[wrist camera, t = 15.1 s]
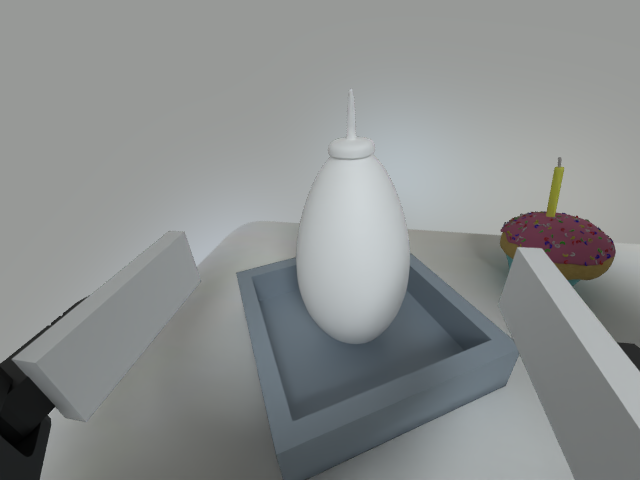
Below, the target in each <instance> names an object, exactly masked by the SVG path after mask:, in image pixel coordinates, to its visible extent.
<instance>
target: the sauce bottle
mask: <svg viewBox="0 0 640 480" xmlns="http://www.w3.org/2000/svg"><path fill="white" fill-rule="evenodd" d="M374 152H375V145H374V142H373V141H372V140H371V139H368V138H365V137H356V124H355V103H354V95H353V91H352V89H350V90H349V95H348V108H347V137H343V138H338V139H336V140H334V141H332V142H331V143H330V145H329V148H328V153H329V155H330V157H329V159H328V160H327V161H326V162H325V164H324V165H323V166H322V168H321V170H320V171H319V173H318V175H317V176H316V178H315V180H314V182H313V185H312V187H311V190H310V192H309V195H308V197H307V201H306V203H305V206H304V210H303V213H302V217H301V221H300V226H299V231H298V237H297V248H296V265H297V278H298V284H299V289H300V293H301V296H302V299H303V301H304V304H305V306H306V308H307V310H308V312H309V314H310V316H311V317H312V319H313V320H314V321H315V322H316V323H317V325H318V326H319V327H320V328H321V329H322V330H323V331H324V332H325V333H327V334H328V335H329V336H330V337H332V338H334V339H336V340H338V341H341V342H344V343H349V344H363V343H367V342H370V341H372V340H373V339H375V338H377V337H378V336H379V335H380V334H381V333H382V332H384V331H385V330H386V329H387V328H388V326H389V325H390V324H391V322H392V321H393V320H394V318H395V317H396V315H397V313H398V311H399V309H400V307H401V304H402V302H403V299H404V297H405V293H406V289H407V285H408V278H409V269H410V245H409V236H408V230H407V225H406V221H405V217H404V213H403V209H402V206H401V203H400V200H399V197H398V194H397V192H396V189H395V187H394V185H393V183H392V180H391V178H390V177H389V175H388V173H387V171H386V170H385V168H384V167H383V165H382V164H381V163H380V161H379V160H378V159H377V158H376V157H375V156H374V155H373V153H374Z"/></svg>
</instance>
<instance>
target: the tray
mask: <svg viewBox="0 0 640 480" xmlns="http://www.w3.org/2000/svg"><path fill="white" fill-rule="evenodd" d="M236 274H237V278H238V283H239V288H240V292H241V297H242V301H243V306H244V310H245V315H246V320H247V324H248V329H249V333H250V338H251V343H252V347H253V352H254V356H255V361H256V365H257V370H258V375H259V379H260V384H261V388H262V393H263V398H264V402H265V407H266V411H267V416H268V420H269V425H270V430H271V434H272V439H273V443H274V448H275V453H276V457H277V460H278V463H279V467H280V470H281V474H282V477H283V480H306V479H308V478H310V477H312V476H315V475H317V474H319V473H321V472H323V471H325V470H327V469H329V468H332V467H334V466H336V465H338V464H340V463H342V462H344V461H346V460H349V459H351V458H353V457H355V456H357V455H359V454H361V453H363V452H366V451H368V450H370V449H372V448H374V447H376V446H378V445H380V444H383V443H385V442H387V441H389V440H391V439H393V438H395V437H397V436H399V435H402V434H404V433H406V432H408V431H410V430H412V429H414V428H416V427H419V426H421V425H423V424H425V423H427V422H429V421H431V420H433V419H436V418H438V417H440V416H442V415H444V414H446V413H448V412H450V411H453V410H455V409H457V408H459V407H461V406H463V405H465V404H467V403H470V402H472V401H474V400H476V399H478V398H480V397H482V396H484V395H487V394H489V393H491V392H493V391H495V390H497V389H499V388H501V387H504V386H506V384H507V381H508V379H509V377H510V374H511V372H512V370H513V367H514V365H515V363H516V360H517V358H518V356H519V352H518V349H517V347H516V345H515V343H514V340H512V339H511V338H510V337H509V336H508V335H507V334H505V333H504V332H503V331H502V330H501V329H499V328H498V327H497V326H496V325H495V324H494V323H492V322H491V321H490V320H489V319H488V318H487V317H485V316H484V315H483V314H482V313H481V312H479V311H478V310H477V309H476V308H475V307H474V306H472V305H471V304H470V303H469V302H468V301H466V300H465V299H464V298H463V297H462V296H461V295H459V294H458V293H457V292H456V291H455V290H454V289H452V288H451V287H450V286H449V285H448V284H446V283H445V282H444V281H443V280H442V279H441V278H439V277H438V276H437V275H436V274H435V273H434V272H432V271H431V270H430V269H429V268H428V267H426V266H425V265H424V264H423V263H422V262H421V261H419V260H418V259H417V258H416V257H415V256H413V255H412V254H411V253H410V269H409V278H408V285H407V289H406V293H405V297H404V299H403V302H402V304H401V307H400V309H399V311H398V313H397V315H396V317H395V318H394V320H393V321H392V322H391V324H390V325H389V326H388V328H387V329H386V330H385V331H384V332H382V333H381V334H380V335H379V336H378V337H377V338H375V339H373V340H372V341H370V342H367V343H363V344H349V343H344V342H341V341H338V340H336V339H334V338H332V337H330V336H329V335H328V334H327V333H325V332H324V331H323V330H322V329H321V328H320V327H319V326H318V325H317V323H316V322H315V321H314V320H313V319H312V317H311V316H310V314H309V312H308V310H307V308H306V306H305V304H304V301H303V299H302V296H301V293H300V289H299V284H298V278H297V265H296V258H292V259H288V260H284V261H280V262H276V263H272V264H269V265H265V266H261V267H257V268H253V269H249V270H245V271H241V272H238V273H236Z"/></svg>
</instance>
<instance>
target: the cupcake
mask: <svg viewBox="0 0 640 480" xmlns="http://www.w3.org/2000/svg"><path fill="white" fill-rule="evenodd" d="M563 172H564V167H561V158H560V157H559V158H558V167H555V170H554V175H553V180H552V186H551V192H550V197H549V202H548V207H547V212H531V213H527V214H524V215H523V214H520V216H518V217H514V218H512V219H511V220H509V222H507V224H506V222H505V223H504V225H505V226H504V227H502V229H501V232H503V233H502V236H501V240H500V246H501V248H502V249H503V250H504V252H505V253H506V255H507V259H508V263H509V271H510V268H511V265H512V262H513V259H514V256H515V253H516V250H517V247H526V248H542V249H543V251H544V252H545V253H546V254H547V256H548V257H549V258H550V259H551V261H552V262H553V263H554V264H555V266H556V267H557V268H558V269H559V271H560V272H561V273H562V274H563V276H564V277H565V278H566V279H567V281H568V282H569V283H570V285H571V286H573V285H574V284H576V283H577V282H578V281H580V280H591V279H594V278H597V277H599V276H601V275H602V274H603V273H605V272H606V271H607V270H608V269H609V267H610V266H611V264H612V262H613V260H614V257H615V246H614V243H613V241H612V239H611V238H608V237H609V236H608V235H605V234H604V232H602V231H601V230H600V229H599V228H597V227H596V226H595V225H593V224H592V223H590V222H589V220H584V219H581V218H578V216H576V217H574V216H570V215H567V214H565V213H562V214H561V213H556V208H557V203H558V197H559V192H560V188H561V182H562V177H563Z"/></svg>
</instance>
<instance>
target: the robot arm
mask: <svg viewBox="0 0 640 480" xmlns="http://www.w3.org/2000/svg"><path fill="white" fill-rule="evenodd" d="M200 282H201V279H200V276H199V273H198V270H197V267H196V264H195V261H194V259H193V256H192V253H191V250H190V247H189V244H188V241H187V238H186V235H185V232H179V231H178V232H177V231H168V232H167V233H166V234H165V235H163V236H162V237H161V238H160V239H158V241H156V242H155V243H154V244H152V245H151V246H150V247H149V248H148V249H146V250H145V251H144V252H143V253H141V254H140V255H139V256H138V257H136V258H135V259H134V260H133V261H131V262H130V263H129V264H128V265H127V266H125V267H124V268H123V269H122V270H120V271H119V272H118V273H117V274H116V275H114V276H113V277H112V278H111V279H110V280H108V281H107V282H106V283H104V284H103V285H102V286H101V287H100V288H98V289H97V290H96V291H95V292H94V293H92V294H91V295H89V296H88V297H86V298H84V299H82V300H80V301H79V302H77V303H75V304H74V305H73V306H72V307H71V308H69V309H68V310H67V311H66V312H64V313H63V315H62V316H59V317H58V318H57V319H56V320H54V321H53V322H52V323H51V325H50V326H47V327H46V328H44V329H43V330H42V331H41V332H40V333H38V334H37V335H36V336H34V337H33V338H32V339H31V340H29V341H28V342H27V343H26V344H24V345H23V346H22V347H21V348H20V349H18V350H17V351H16V352H15V353H13V354H12V355H11V356H10V357H8V358H7V359H6V360H5V361H3V362H2V363H0V480H40V475H41V470H42V466H43V461H44V456H45V451H46V447H47V442H48V437H49V433H50V428H51V418H50V417H49V416H48V414H49V413H50V412H51V411H52V410H53V408H54V407H56V408H57V409H58V410H59V411H60V413H61V414H62V415H63V416H64V417H65V418H68V419H73V420H79V421H84V422H87V421H88V419H89V418H90V417H91V416H92V415H93V413H94V412H95V411H96V410H97V408H98V407H99V406H100V405H101V403H102V402H103V401H104V400H105V399H106V397H107V396H108V395H109V394H110V392H111V391H112V390H113V389H114V388H115V386H116V385H117V384H118V383H119V381H120V380H121V379H122V378H123V377H124V375H125V374H126V373H127V372H128V370H129V369H130V368H131V367H132V365H133V364H134V363H135V362H136V361H137V359H138V358H139V357H140V356H141V354H142V353H143V352H144V351H145V350H146V348H147V347H148V346H149V345H150V343H151V342H152V341H153V340H154V338H155V337H156V336H157V335H158V334H159V332H160V331H161V330H162V329H163V327H164V326H165V325H166V324H167V323H168V321H169V320H170V319H171V318H172V316H173V315H174V314H175V313H176V311H177V310H178V309H179V308H180V307H181V305H182V304H183V303H184V302H185V300H186V299H187V298H188V297H189V296H190V294H191V293H192V292H193V291H194V289H195V288H196V287H197V286H198V284H199V283H200ZM498 306H499V309H500V311H501V313H502V315H503V318H504V320H505V322H506V324H507V327H508V329H509V331H510V333H511V336H512V338H513V340H514V343H515V345H516V347H517V349H518V352H519V354H520V356H521V358H522V361H523V363H524V365H525V367H526V370H527V372H528V374H529V377H530V379H531V381H532V383H533V386H534V388H535V390H536V392H537V395H538V397H539V399H540V401H541V404H542V406H543V408H544V411H545V413H546V415H547V417H548V420H549V422H550V424H551V426H552V429H553V431H554V433H555V435H556V438H557V440H558V442H559V445H560V447H561V449H562V451H563V454H564V456H565V458H566V460H567V463H568V465H569V467H570V469H571V472H572V474H573V476H574V479H575V480H640V348H639V347H637V346H636V345H635V344H629V343H618V342H616V341H615V340H614V339H613V337H612V336H611V335H610V334H609V332H608V331H607V330H606V329H605V327H604V326H603V325H602V324H601V322H600V321H599V320H598V319H597V317H596V316H595V315H594V313H593V312H592V311H591V310H590V308H589V307H588V306H587V305H586V303H585V302H584V301H583V300H582V298H581V297H580V296H579V295H578V293H577V292H576V291H575V290H574V288H573V287H572V286H571V285H570V283H569V282H568V281H567V279H566V278H565V277H564V276H563V274H562V273H561V272H560V271H559V269H558V268H557V267H556V266H555V264H554V263H553V262H552V261H551V259H550V258H549V257H548V256H547V254H546V253H545V252H544V251H543V249H542V248H526V247H517V250H516V253H515V256H514V259H513V262H512V265H511V268H510V271H509V273H508V276H507V279H506V282H505V285H504V288H503V291H502V294H501V297H500V300H499V303H498Z"/></svg>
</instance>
